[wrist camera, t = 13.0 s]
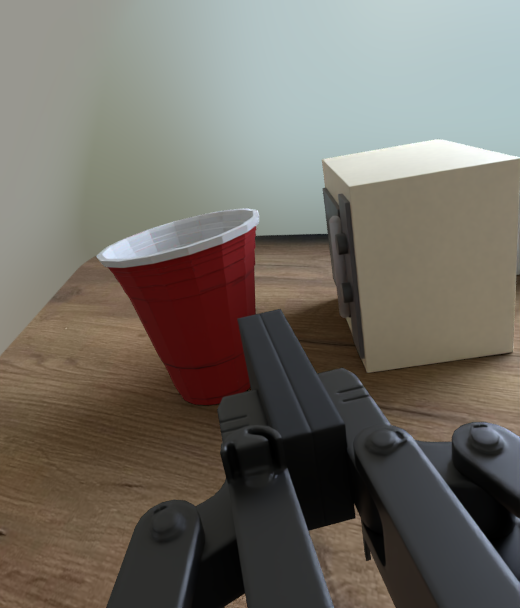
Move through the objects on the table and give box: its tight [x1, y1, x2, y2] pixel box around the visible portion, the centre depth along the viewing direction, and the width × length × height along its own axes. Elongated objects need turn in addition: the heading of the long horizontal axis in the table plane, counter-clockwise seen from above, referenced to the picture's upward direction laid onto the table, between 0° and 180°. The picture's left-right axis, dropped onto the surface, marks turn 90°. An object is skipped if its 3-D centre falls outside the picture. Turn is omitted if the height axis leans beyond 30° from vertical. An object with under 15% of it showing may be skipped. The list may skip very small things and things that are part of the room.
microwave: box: [322, 139, 520, 373], centre depth 37 cm, size 11×14×13 cm
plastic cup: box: [96, 209, 259, 405], centre depth 34 cm, size 11×11×12 cm
